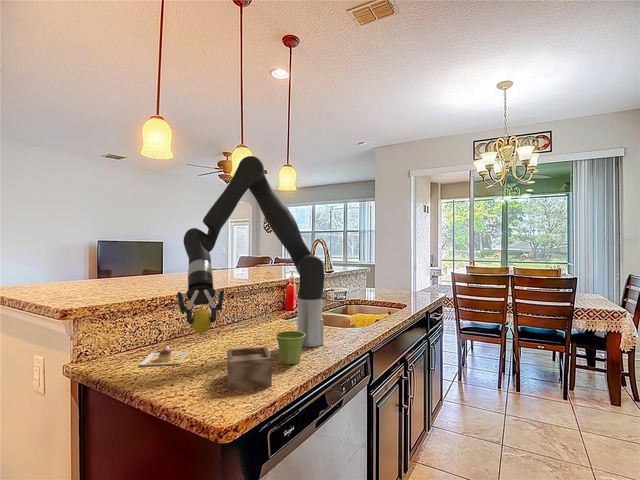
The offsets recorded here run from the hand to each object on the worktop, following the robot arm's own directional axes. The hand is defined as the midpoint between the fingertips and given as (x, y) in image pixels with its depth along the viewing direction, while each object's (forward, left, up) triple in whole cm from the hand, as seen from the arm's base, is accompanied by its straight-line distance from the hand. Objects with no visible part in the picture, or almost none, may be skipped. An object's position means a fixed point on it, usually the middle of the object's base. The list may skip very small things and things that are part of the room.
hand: (201, 321), depth 100 cm
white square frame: (+12, -15, -15) cm, 24 cm away
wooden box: (-13, +9, -15) cm, 22 cm away
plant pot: (-27, -3, -15) cm, 31 cm away
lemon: (0, -2, -4) cm, 5 cm away
